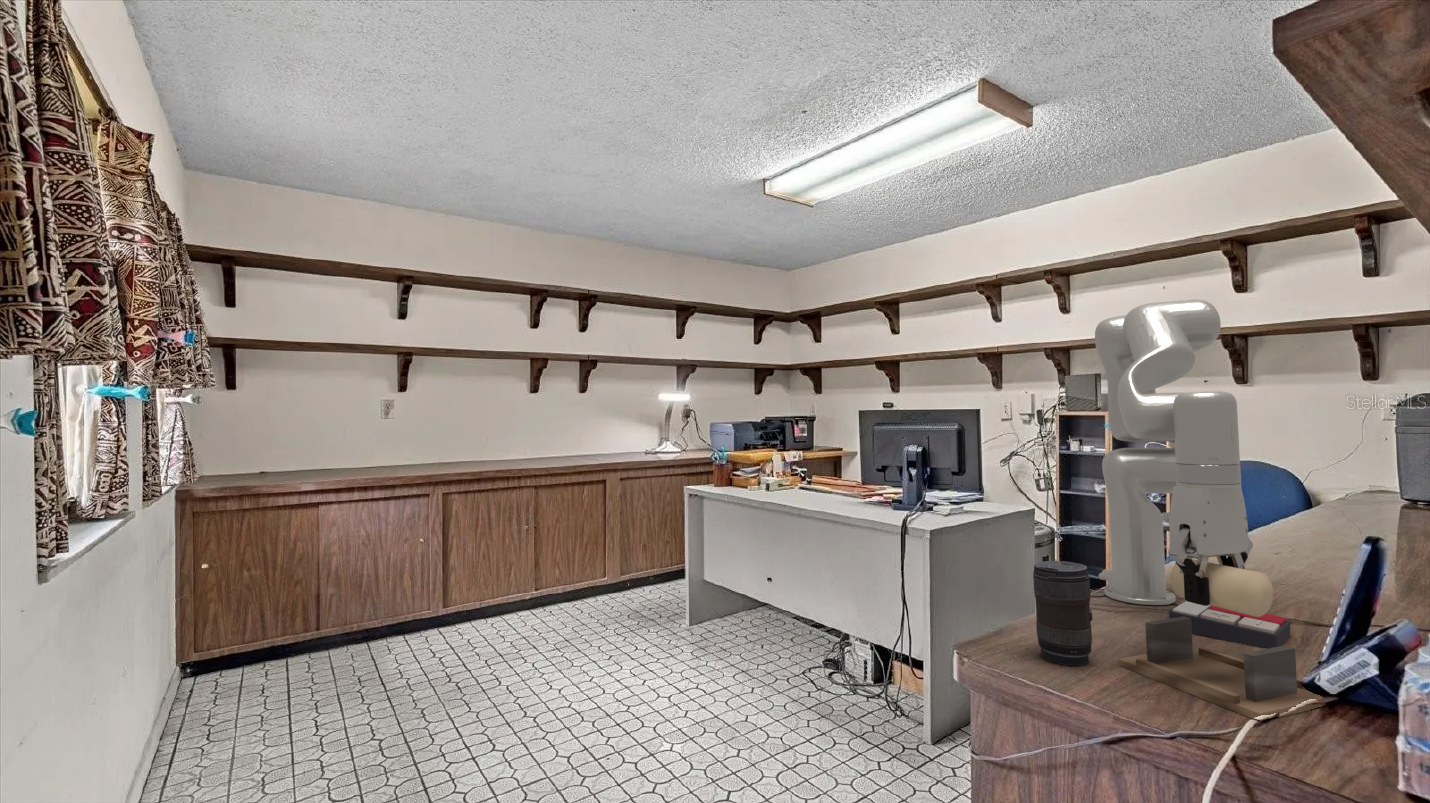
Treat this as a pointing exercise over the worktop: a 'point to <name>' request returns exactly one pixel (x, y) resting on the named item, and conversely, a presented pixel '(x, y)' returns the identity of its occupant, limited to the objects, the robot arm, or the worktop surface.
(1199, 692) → the roll holder
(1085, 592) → the camera lens
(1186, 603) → the calculator
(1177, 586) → the beige cylinder
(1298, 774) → the worktop surface
